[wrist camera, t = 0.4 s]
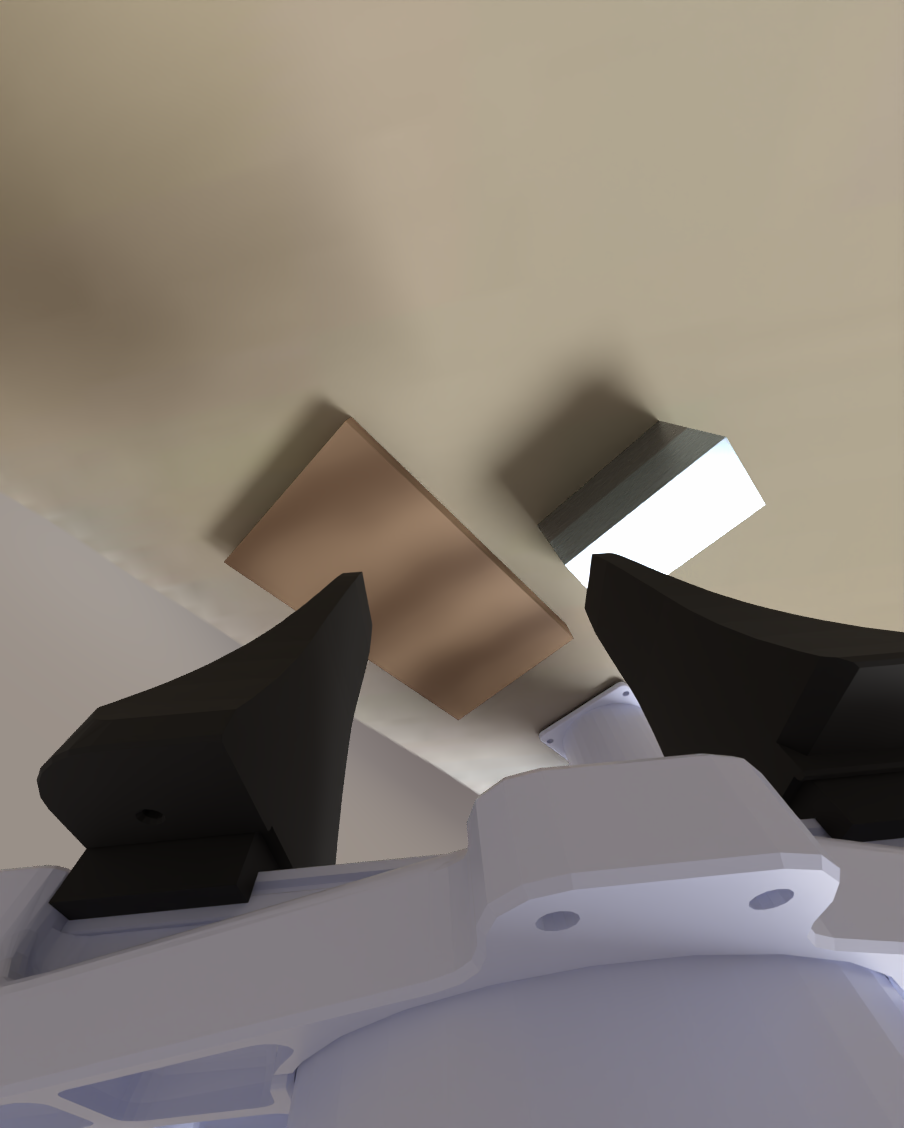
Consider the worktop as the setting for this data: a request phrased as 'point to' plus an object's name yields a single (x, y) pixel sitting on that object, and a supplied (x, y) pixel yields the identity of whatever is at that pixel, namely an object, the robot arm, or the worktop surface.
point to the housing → (655, 502)
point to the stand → (402, 574)
